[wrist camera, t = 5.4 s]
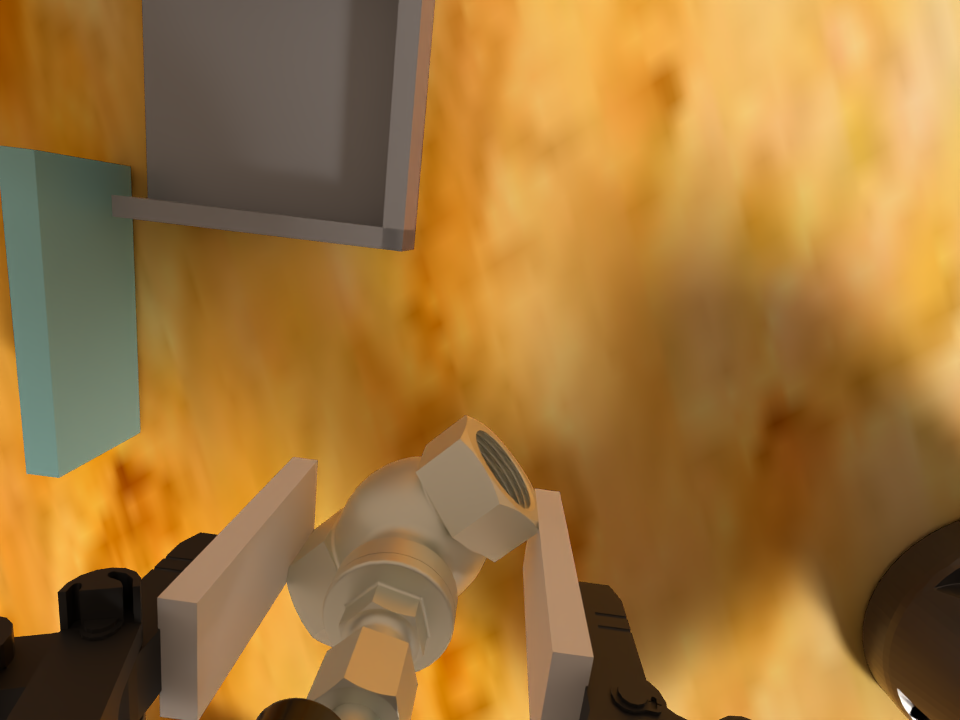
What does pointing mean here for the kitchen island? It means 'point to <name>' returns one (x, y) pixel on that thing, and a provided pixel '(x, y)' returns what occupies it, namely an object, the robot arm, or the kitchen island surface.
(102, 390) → the gate
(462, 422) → the valve
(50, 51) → the kitchen island surface
